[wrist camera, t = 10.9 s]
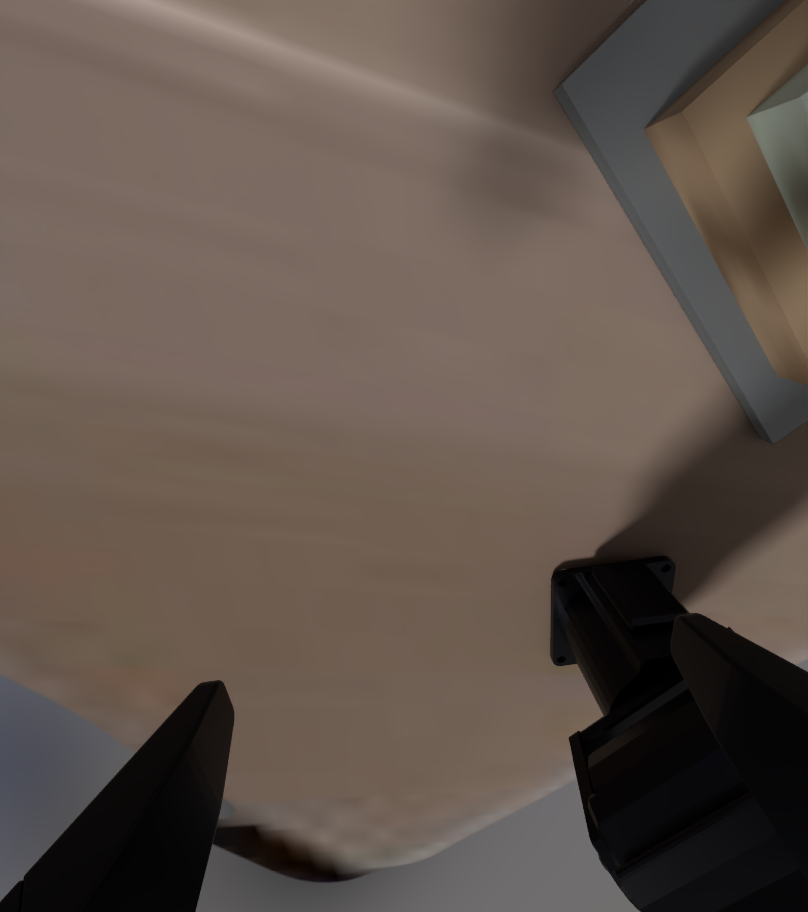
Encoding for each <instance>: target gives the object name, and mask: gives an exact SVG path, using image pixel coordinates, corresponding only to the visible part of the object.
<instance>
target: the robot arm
mask: <svg viewBox="0 0 808 912" xmlns="http://www.w3.org/2000/svg"><path fill="white" fill-rule="evenodd" d="M664 565H665V566H664ZM663 566H664V567H663ZM674 574H675V563H674V562H673V561H672V560H671V559H670V558H669V557H667V556H661V557H654V558H646V559H639V560H632V561H625V562H618V563H611V564H603V565H596V566H589V567H582V568H575V569H567V570H560V571H557V572H556V573H554V574H553V576H552V578H551V639H550V656H551V659H552V661H553V663H554V664H555V665H557V666H564V665H571V664H578V666H579V668H580V670H581V672H582V674H583V676H584V678H585V680H586V682H587V684H588V686H589V688H590V690H591V692H592V694H593V696H594V698H595V700H596V702H597V704H598V706H599V708H600V709H601V711H602V713H603V715H604V716H603V717H602V718H600V719H599V720H597V721H596V722H595V723H593V724H592V725H590V726H589V727H587V728H586V729H584V730H583V731H581V732H580V731H577V732H576V733H574V734H573V735H572V736H570V737H569V742H570V746H571V751H572V756H573V762H574V767H575V771H576V776H577V781H578V785H579V790H580V795H581V799H582V804H583V809H584V814H585V818H586V823H587V828H588V832H589V837H590V840H591V843H592V845H593V846H594V848H595V849H596V851H597V852H598V856H599V859H600V861H601V863H602V865H603V866H604V868H605V869H606V870H607V871H608V872H609V873H610V874H611V876H612V877H613V879H614V881H615V882H616V883H617V885H618V887H619V888H620V889H621V891H622V892H623V893H624V894H625V896H626V897H627V898H628V900H629V901H630V902H631V903H632V904H633V905H634V906H635V907H636V908H637V909H638V910H639V911H641V912H808V672H807V671H805V670H803V669H801V668H800V667H798V666H796V665H794V664H792V663H790V662H789V661H787V660H785V659H783V658H781V657H779V656H777V655H776V654H774V653H772V652H770V651H768V650H766V649H765V648H763V647H761V646H759V645H757V644H755V643H753V642H752V641H750V640H748V639H746V638H744V637H742V636H740V635H739V634H737V633H735V632H734V631H733V630H732V629H731V628H730V627H728V628H726V627H724V626H722V625H720V624H718V623H716V622H715V621H713V620H711V619H709V618H707V617H705V616H703V615H701V614H698V613H691V614H690V613H689V612H688V611H687V609H686V608H685V607H684V606H683V605H682V604H681V603H680V602H679V601H678V599H677V598H676V597H675V596H674V595H673V594H672V588H673V581H674ZM562 579H564V580H563V581H562V582H559V581H560V580H562ZM233 726H234V709H233V705H232V703H231V700H230V698H229V695H228V692H227V690H226V687H225V685H224V683H223V682H222V681H221V680H216V681H209V682H203V683H200V684H199V685H197V686H196V687H195V689H194V690H193V691H192V692H191V693H190V694H189V695H188V696H187V697H186V698H185V699H184V701H183V702H182V703H181V704H180V705H179V706H178V707H177V708H176V709H175V710H174V712H173V713H172V714H171V715H170V716H169V717H168V718H167V719H166V720H165V721H164V723H163V724H162V725H161V726H160V727H159V728H158V729H157V730H156V731H155V732H154V734H153V735H152V736H151V737H150V738H149V739H148V740H147V741H146V742H145V743H144V745H143V746H142V747H141V748H140V749H139V750H138V751H137V752H136V753H135V754H134V756H133V757H132V758H131V759H130V760H129V761H128V762H127V763H126V764H125V765H124V767H123V768H122V769H121V770H120V771H119V772H118V773H117V774H116V775H115V777H114V778H113V779H112V780H111V781H110V782H109V783H108V784H107V785H106V786H105V787H104V789H103V790H102V791H101V792H100V793H99V794H98V795H97V796H96V797H95V798H94V800H93V801H92V802H91V803H90V804H89V805H88V806H87V807H86V808H85V809H84V810H83V812H82V813H81V814H80V815H79V816H78V817H77V818H76V819H75V820H74V821H73V823H72V824H71V825H70V826H69V827H68V828H67V829H66V830H65V831H64V832H63V834H62V835H61V836H60V837H59V838H58V839H57V840H56V841H55V842H54V844H53V845H52V846H51V847H50V848H49V849H48V850H47V851H46V852H45V853H44V854H43V856H42V857H41V858H40V859H39V860H38V861H37V862H36V863H35V864H34V865H33V866H32V868H31V869H30V870H29V871H28V872H27V873H26V874H25V876H24V879H23V881H22V880H21V881H19V882H18V883H17V884H16V885H15V886H14V887H13V888H12V889H11V890H10V892H9V893H8V894H7V895H6V896H5V897H4V898H3V899H2V900H1V902H0V912H195V911H196V907H197V903H198V899H199V895H200V891H201V887H202V883H203V879H204V875H205V871H206V867H207V863H208V859H209V855H210V851H211V847H212V843H213V839H214V835H215V831H216V827H217V823H218V818H219V814H220V809H221V804H222V798H223V792H224V786H225V779H226V772H227V766H228V759H229V752H230V746H231V739H232V732H233Z"/></svg>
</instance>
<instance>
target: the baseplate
mask: <svg viewBox="0 0 808 912" xmlns="http://www.w3.org/2000/svg"><path fill="white" fill-rule="evenodd" d="M783 1H784V0H646V1H645V2H644V3H643V4H642V5H641V6H640V7H639V8H638V9H637V10H636V11H635V12H634V13H633V14H632V15H631V16H630V17H629V18H627V19H626V20H625V21H624V22H623V23H622V24H621V25H620V26H619V27H618V28H617V29H616V30H615V31H614V32H613V33H612V34H611V35H610V36H609V37H608V38H607V39H606V40H605V41H604V42H603V43H602V44H601V45H600V46H599V47H598V48H597V49H596V50H595V51H594V52H593V53H592V54H591V55H590V56H589V57H588V58H587V59H586V60H585V61H584V62H583V63H582V64H581V65H580V66H579V67H578V68H577V69H576V70H575V71H574V72H573V73H572V74H571V75H570V76H569V77H568V78H567V79H566V80H565V81H564V82H563V83H562V84H561V85H560V86H559V87H558V88H557V89H556V90H555V91H553V93H554V94H555V96H556V98H557V99H558V101H559V103H560V104H561V106H562V108H563V109H564V111H565V113H566V114H567V116H568V118H569V119H570V121H571V123H572V124H573V126H574V128H575V129H576V131H577V133H578V134H579V136H580V138H581V139H582V141H583V143H584V144H585V146H586V148H587V149H588V151H589V153H590V154H591V156H592V158H593V159H594V161H595V163H596V164H597V166H598V168H599V169H600V171H601V173H602V174H603V176H604V178H605V179H606V181H607V183H608V184H609V186H610V188H611V190H612V191H613V193H614V195H615V196H616V198H617V200H618V201H619V203H620V205H621V206H622V208H623V210H624V211H625V213H626V215H627V216H628V218H629V220H630V221H631V223H632V225H633V226H634V228H635V230H636V231H637V233H638V235H639V236H640V238H641V240H642V241H643V243H644V245H645V246H646V248H647V250H648V251H649V253H650V255H651V256H652V258H653V260H654V261H655V263H656V265H657V266H658V268H659V270H660V271H661V273H662V275H663V276H664V278H665V280H666V281H667V283H668V285H669V286H670V288H671V290H672V291H673V293H674V295H675V296H676V298H677V300H678V302H679V303H680V305H681V307H682V308H683V310H684V312H685V313H686V315H687V317H688V318H689V320H690V322H691V323H692V325H693V327H694V328H695V330H696V332H697V333H698V335H699V337H700V338H701V340H702V342H703V343H704V345H705V347H706V348H707V350H708V352H709V353H710V355H711V357H712V358H713V360H714V362H715V363H716V365H717V367H718V368H719V370H720V372H721V373H722V375H723V377H724V378H725V380H726V382H727V383H728V385H729V387H730V388H731V390H732V392H733V393H734V395H735V397H736V398H737V400H738V402H739V403H740V405H741V407H742V408H743V410H744V412H745V414H746V415H747V417H748V419H749V420H750V422H751V424H752V425H753V427H754V429H755V430H756V432H757V434H758V435H759V437H760V438H761V439H763V440H765V441H767V442H769V443H771V444H775V443H776V442H778V441H779V440H781V439H782V438H784V437H785V436H787V435H788V434H789V433H791V432H792V431H794V430H795V429H797V428H798V427H799V426H801V425H802V424H804V423H805V422H807V421H808V385H805V384H801V383H798V382H795V381H791V380H788V379H784V378H781V377H778V376H777V374H776V372H775V371H774V369H773V367H772V365H771V363H770V361H769V360H768V358H767V356H766V354H765V352H764V350H763V348H762V347H761V345H760V343H759V341H758V339H757V337H756V336H755V334H754V332H753V330H752V328H751V326H750V325H749V323H748V321H747V319H746V317H745V315H744V314H743V312H742V310H741V308H740V306H739V304H738V303H737V301H736V299H735V297H734V295H733V293H732V291H731V290H730V288H729V286H728V284H727V282H726V280H725V279H724V277H723V275H722V273H721V271H720V269H719V268H718V266H717V264H716V262H715V260H714V258H713V257H712V255H711V253H710V251H709V249H708V247H707V246H706V244H705V242H704V240H703V238H702V236H701V234H700V233H699V231H698V229H697V227H696V225H695V223H694V222H693V220H692V218H691V216H690V214H689V212H688V211H687V209H686V207H685V205H684V203H683V201H682V200H681V198H680V196H679V194H678V192H677V190H676V189H675V187H674V185H673V183H672V181H671V179H670V178H669V176H668V174H667V172H666V170H665V168H664V166H663V165H662V163H661V161H660V159H659V157H658V155H657V154H656V152H655V150H654V148H653V146H652V144H651V143H650V141H649V139H648V137H647V135H646V133H645V132H644V130H643V129H645V128H646V127H647V126H648V125H649V124H650V123H651V122H652V121H653V120H654V119H655V118H657V117H658V116H659V115H660V114H661V113H662V112H663V111H664V110H665V109H666V108H667V107H669V106H670V105H671V104H672V103H673V102H674V101H675V100H676V99H677V98H678V97H679V96H681V95H682V94H683V93H684V92H685V91H686V90H687V89H688V88H689V87H690V86H691V85H693V84H694V83H695V82H696V81H697V80H698V79H699V78H700V77H701V76H702V75H703V74H705V73H706V72H707V71H708V70H709V69H710V68H711V67H712V66H713V65H714V64H715V63H717V62H718V61H719V60H720V59H721V58H722V57H723V56H724V55H725V54H726V53H727V52H729V51H730V50H731V49H732V48H733V47H734V46H735V45H736V44H737V43H738V42H739V41H741V40H742V39H743V38H744V37H745V36H746V35H747V34H748V33H749V32H750V31H751V30H753V29H754V28H755V27H756V26H757V25H758V24H759V23H760V22H761V21H762V20H763V19H765V18H766V17H767V16H768V15H769V14H770V13H771V12H772V11H773V10H774V9H775V8H777V7H778V6H779V5H780V4H781V3H782V2H783Z"/></svg>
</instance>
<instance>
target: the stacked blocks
mask: <svg viewBox="0 0 808 912" xmlns="http://www.w3.org/2000/svg"><path fill="white" fill-rule="evenodd" d="M643 130H644V132H645V133H646V135H647V137H648V139H649V141H650V143H651V144H652V146H653V148H654V150H655V152H656V154H657V155H658V157H659V159H660V161H661V163H662V165H663V166H664V168H665V170H666V172H667V174H668V176H669V178H670V179H671V181H672V183H673V185H674V187H675V189H676V190H677V192H678V194H679V196H680V198H681V200H682V201H683V203H684V205H685V207H686V209H687V211H688V212H689V214H690V216H691V218H692V220H693V222H694V223H695V225H696V227H697V229H698V231H699V233H700V234H701V236H702V238H703V240H704V242H705V244H706V246H707V247H708V249H709V251H710V253H711V255H712V257H713V258H714V260H715V262H716V264H717V266H718V268H719V269H720V271H721V273H722V275H723V277H724V279H725V280H726V282H727V284H728V286H729V288H730V290H731V291H732V293H733V295H734V297H735V299H736V301H737V303H738V304H739V306H740V308H741V310H742V312H743V314H744V315H745V317H746V319H747V321H748V323H749V325H750V326H751V328H752V330H753V332H754V334H755V336H756V337H757V339H758V341H759V343H760V345H761V347H762V348H763V350H764V352H765V354H766V356H767V358H768V360H769V361H770V363H771V365H772V367H773V369H774V371H775V372H776V374H777V376H778V377H781V378H784V379H788V380H791V381H795V382H798V383H801V384H805V385H808V0H784V1H783V2H782V3H781V4H780V5H779V6H778V7H777V8H775V9H774V10H773V11H772V12H771V13H770V14H769V15H768V16H767V17H766V18H765V19H763V20H762V21H761V22H760V23H759V24H758V25H757V26H756V27H755V28H754V29H753V30H751V31H750V32H749V33H748V34H747V35H746V36H745V37H744V38H743V39H742V40H741V41H739V42H738V43H737V44H736V45H735V46H734V47H733V48H732V49H731V50H730V51H729V52H727V53H726V54H725V55H724V56H723V57H722V58H721V59H720V60H719V61H718V62H717V63H715V64H714V65H713V66H712V67H711V68H710V69H709V70H708V71H707V72H706V73H705V74H703V75H702V76H701V77H700V78H699V79H698V80H697V81H696V82H695V83H694V84H693V85H691V86H690V87H689V88H688V89H687V90H686V91H685V92H684V93H683V94H682V95H681V96H679V97H678V98H677V99H676V100H675V101H674V102H673V103H672V104H671V105H670V106H669V107H667V108H666V109H665V110H664V111H663V112H662V113H661V114H660V115H659V116H658V117H657V118H655V119H654V120H653V121H652V122H651V123H650V124H649V125H648V126H647V127H646V128H645V129H643Z"/></svg>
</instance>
